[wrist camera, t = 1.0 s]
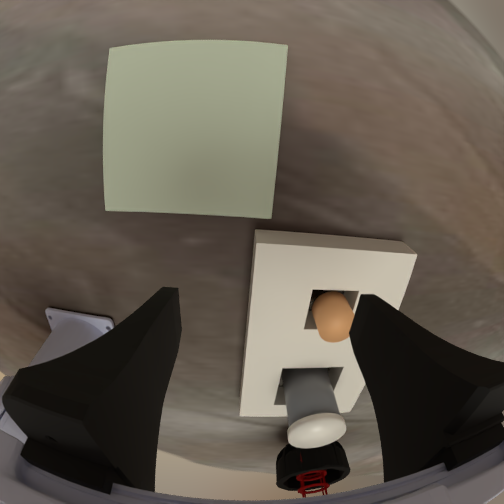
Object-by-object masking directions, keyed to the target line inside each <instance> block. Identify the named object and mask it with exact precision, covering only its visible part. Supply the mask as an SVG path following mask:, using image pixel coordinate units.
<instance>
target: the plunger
mask: <svg viewBox="0 0 504 504" xmlns="http://www.w3.org/2000/svg"><path fill="white" fill-rule="evenodd" d="M312 314H313V317H314V320H315V323H316V326H317V329H318V332H319V335H320V337H321V338H322V339H323V340H324V341H327V342H332V343H334V342H340V341H343V340H345V339H347V338H348V337H350V336H349V331H350V328H351V325H352V322H353V318H354V313H353V311H352V309H351V307H350V305H349V303H348V301H347V299H346V298H345V296H344V295H343V294H341V293H339V292H336V291H330V292H326V293H324V294H322V295H320V296H319V297H318V298H317V299H316V300H315V301H314V303H313V305H312Z"/></svg>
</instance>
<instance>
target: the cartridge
mask: <svg viewBox="0 0 504 504" xmlns="http://www.w3.org/2000/svg"><path fill="white" fill-rule="evenodd" d="M281 373H282V380H283V387H284V395H285V402H286V409H287V416H288V424H289V428H288V430H287V435H288V442H289V443H290V444H291V445H292V446H294V447H298V448H316V447H321V446H324V445H327V444H330V443H332V442H334V441H336V440H338V439H339V438H340V437H342V436H343V435H344V433H345V432H346V425H345V421H344V418H343V417H342V416H341V415H340V412H339V409H338V405H337V402H336V398H335V395H334V391H333V388H332V385H331V381H330V378H329V374H328V371H327V368H326V367H325V368H282V372H281Z"/></svg>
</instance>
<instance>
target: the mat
mask: <svg viewBox="0 0 504 504" xmlns="http://www.w3.org/2000/svg"><path fill="white" fill-rule="evenodd" d="M287 50H288V45H282V44H273V43H263V42H252V41H235V40H180V41H164V42H152V43H143V44H134V45H127V46H120V47H114V48H110V51H109V59H108V67H107V77H106V88H105V101H104V121H103V177H104V198H105V211H130V212H158V213H181V214H201V215H219V216H235V217H250V218H264V219H271V217H272V207H273V198H274V188H275V179H276V169H277V159H278V149H279V139H280V129H281V118H282V107H283V96H284V85H285V74H286V62H287Z"/></svg>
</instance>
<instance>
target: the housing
mask: <svg viewBox="0 0 504 504" xmlns="http://www.w3.org/2000/svg"><path fill="white" fill-rule="evenodd" d="M416 257H417V254H416V253H415V252H414V251H413V250H412V249H411V248H409V247H408V246H407V245H406V244H405V243H404V242H403V241H393V240H383V239H372V238H361V237H349V236H338V235H326V234H313V233H301V232H287V231H274V230H259V229H255V235H254V246H253V257H252V268H251V279H250V290H249V301H248V312H247V323H246V334H245V345H244V356H243V367H242V377H241V388H240V416H252V417H280V416H287V409H286V402H285V395H284V387H283V386H278V385H279V381H280V377H281V372H282V368H325V367H330V370H329V372H328V374H329V378H330V381H331V385H332V388H333V391H334V395H335V398H336V402H337V405H338V409H339V412H340V413H344V412H350V411H351V409H352V408H353V406H354V404H355V402H356V400H357V398H358V397H359V395H360V393H361V391H362V389H363V387H364V385H365V380H364V378H363V375H362V373H361V371H360V368H359V365H358V363H357V360H356V358H355V355H354V352H353V349H352V345H351V340H350V337H348V338H347V339H345V340H343V341H340V342H334V343H332V342H327V341H324V340H323V339H322V338H321V337H320V335H319V332H318V329H317V326H316V323H315V320H314V317H313V314H312V311H308V309H309V304H310V299H311V295H312V290H313V289H314V290H345V291H344V296H345V298H346V299H347V301H348V303H349V305H350V307H351V309H352V311H353V313H354V315H355V312H356V308H357V305H358V302H359V298H360V295H361V294H375V295H376V296H378V297H380V298H381V299H383V300H384V301H386V302H387V303H389V304H390V305H391V306H393V307H394V308H396V309H397V310H399V307H400V304H401V302H402V299H403V296H404V293H405V291H406V288H407V285H408V282H409V279H410V276H411V273H412V270H413V267H414V264H415V260H416Z"/></svg>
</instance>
